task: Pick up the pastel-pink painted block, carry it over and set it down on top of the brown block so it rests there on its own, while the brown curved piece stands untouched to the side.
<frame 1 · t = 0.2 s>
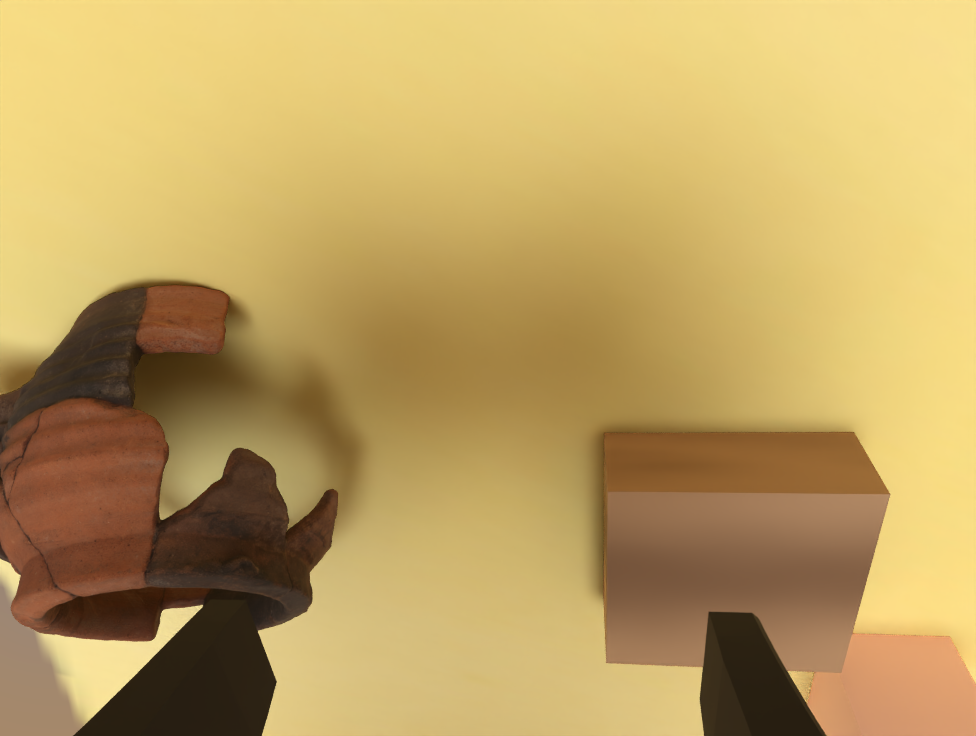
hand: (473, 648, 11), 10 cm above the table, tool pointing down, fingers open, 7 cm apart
brown block: (714, 515, 22), on the table
pink block: (874, 671, 25), on the table
brown curved piece: (182, 413, 22), on the table
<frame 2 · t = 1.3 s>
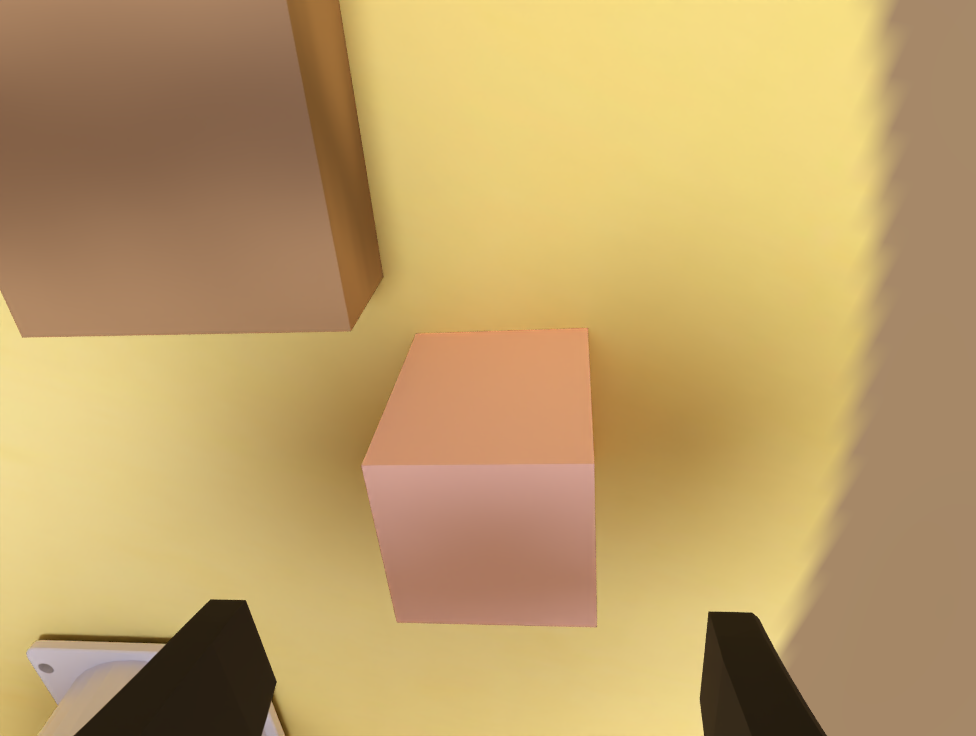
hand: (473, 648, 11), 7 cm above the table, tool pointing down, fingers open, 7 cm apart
brown block: (200, 121, 15), on the table
pink block: (507, 402, 17), on the table
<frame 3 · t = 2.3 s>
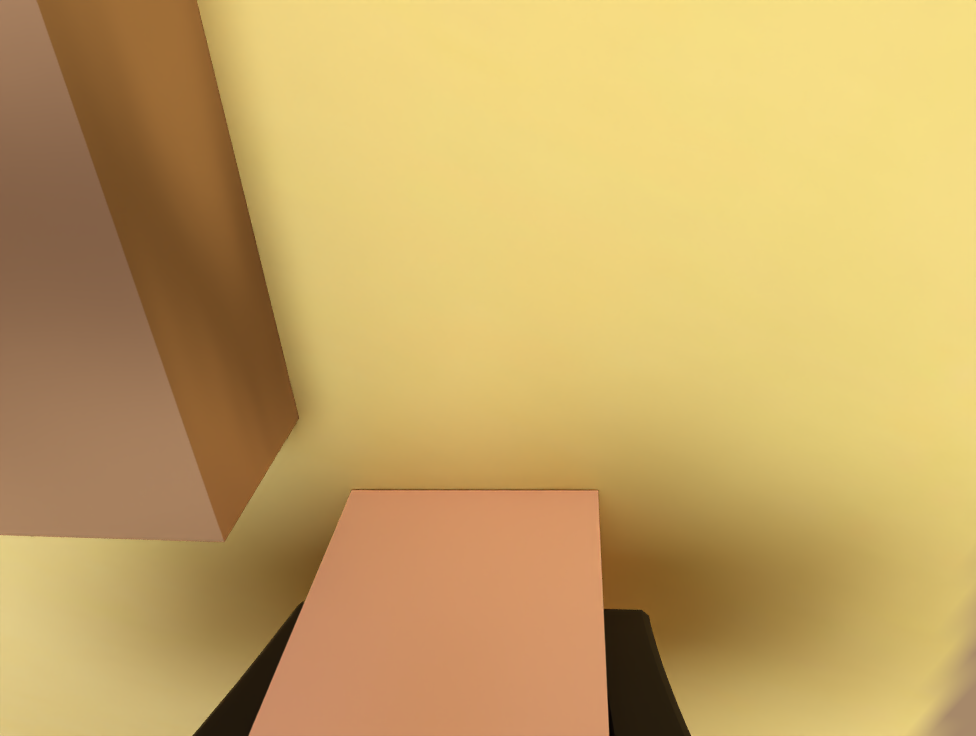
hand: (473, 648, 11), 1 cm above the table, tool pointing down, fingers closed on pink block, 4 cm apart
brown block: (18, 197, 10), on the table
pink block: (483, 579, 12), on the table, touching gripper
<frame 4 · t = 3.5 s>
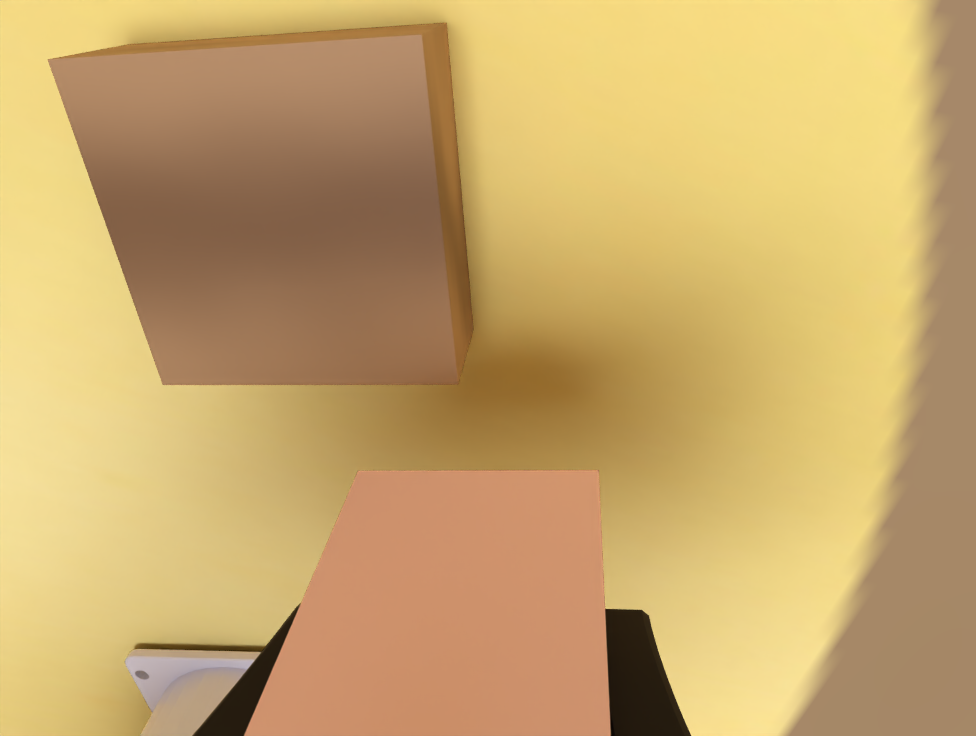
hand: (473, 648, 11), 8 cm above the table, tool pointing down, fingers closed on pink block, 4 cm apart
brown block: (319, 194, 17), on the table
pink block: (486, 559, 12), point 7 cm above the table, touching gripper
when the fingers open (6 cm above the table, at t = 4.7 s): pink block drops 2 cm, resting on brown block.
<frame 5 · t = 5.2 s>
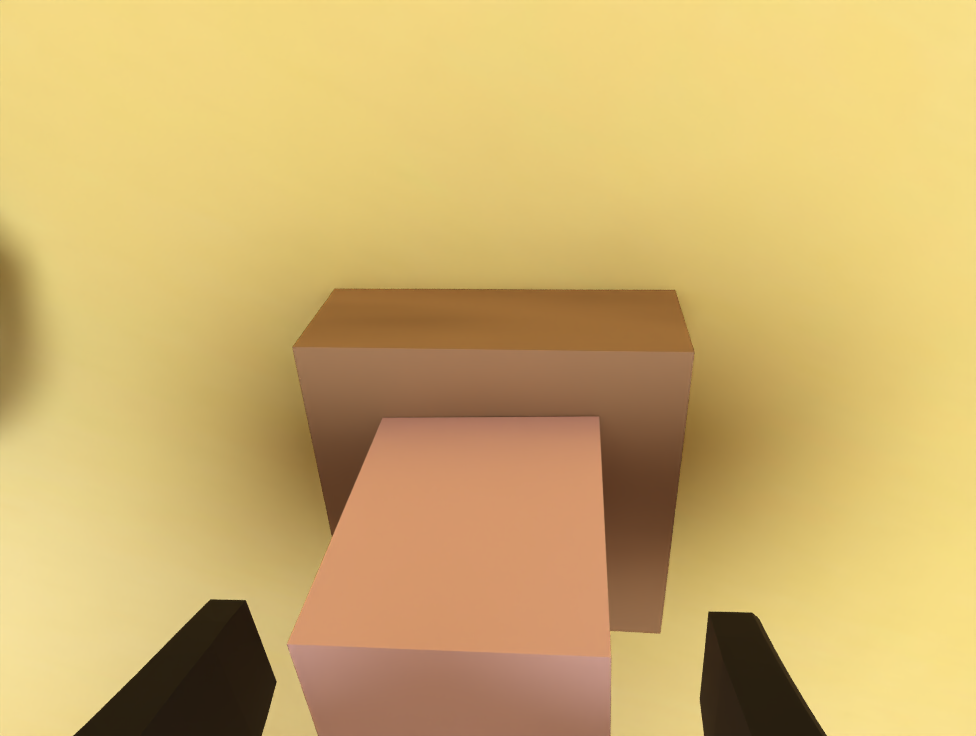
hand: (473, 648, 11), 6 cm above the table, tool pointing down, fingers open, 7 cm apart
brown block: (506, 418, 16), on the table, touching pink block
pink block: (496, 500, 14), point 3 cm above the table, touching brown block
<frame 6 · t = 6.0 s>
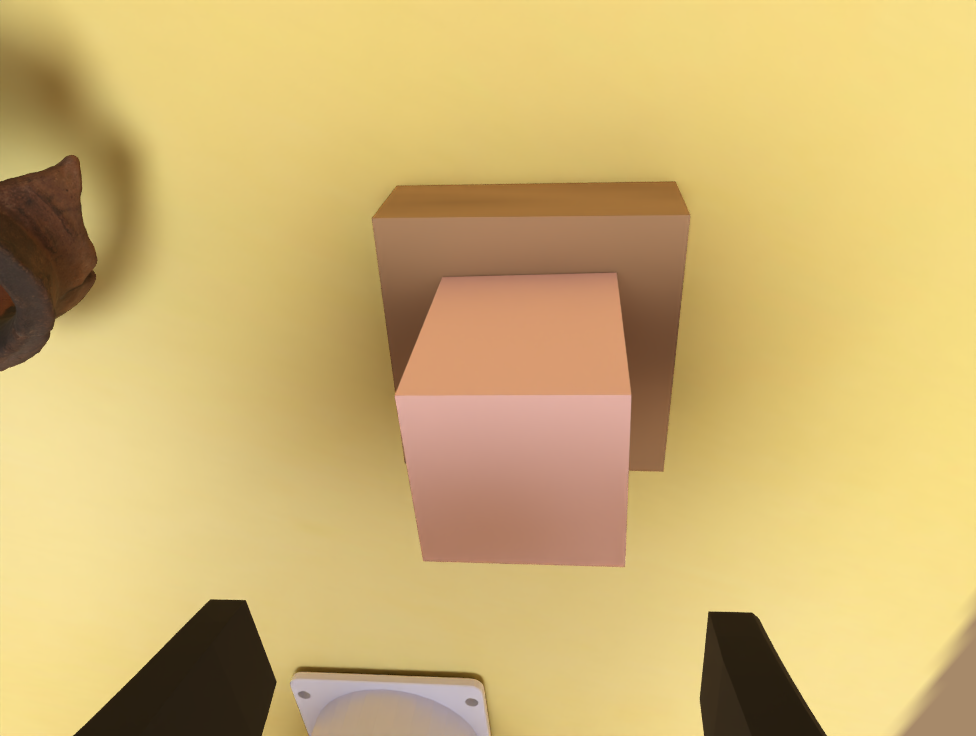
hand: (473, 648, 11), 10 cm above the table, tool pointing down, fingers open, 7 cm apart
brown block: (535, 302, 20), on the table, touching pink block
pink block: (531, 350, 17), point 3 cm above the table, touching brown block
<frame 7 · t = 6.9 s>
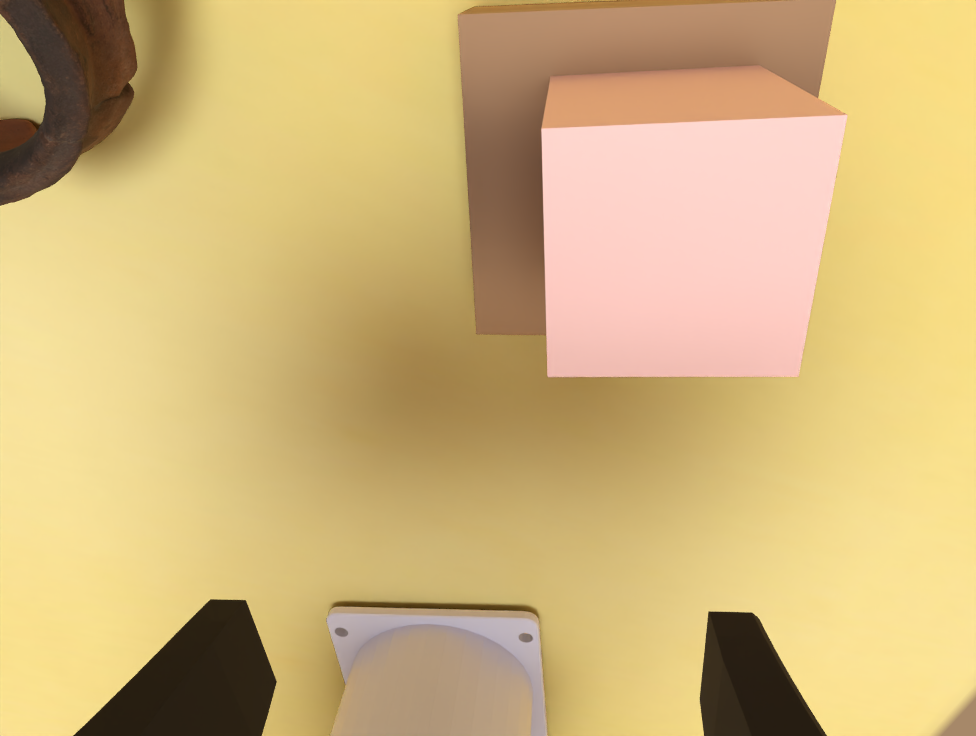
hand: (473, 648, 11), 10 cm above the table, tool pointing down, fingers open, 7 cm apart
brown block: (622, 156, 17), on the table, touching pink block
pink block: (647, 173, 15), point 3 cm above the table, touching brown block
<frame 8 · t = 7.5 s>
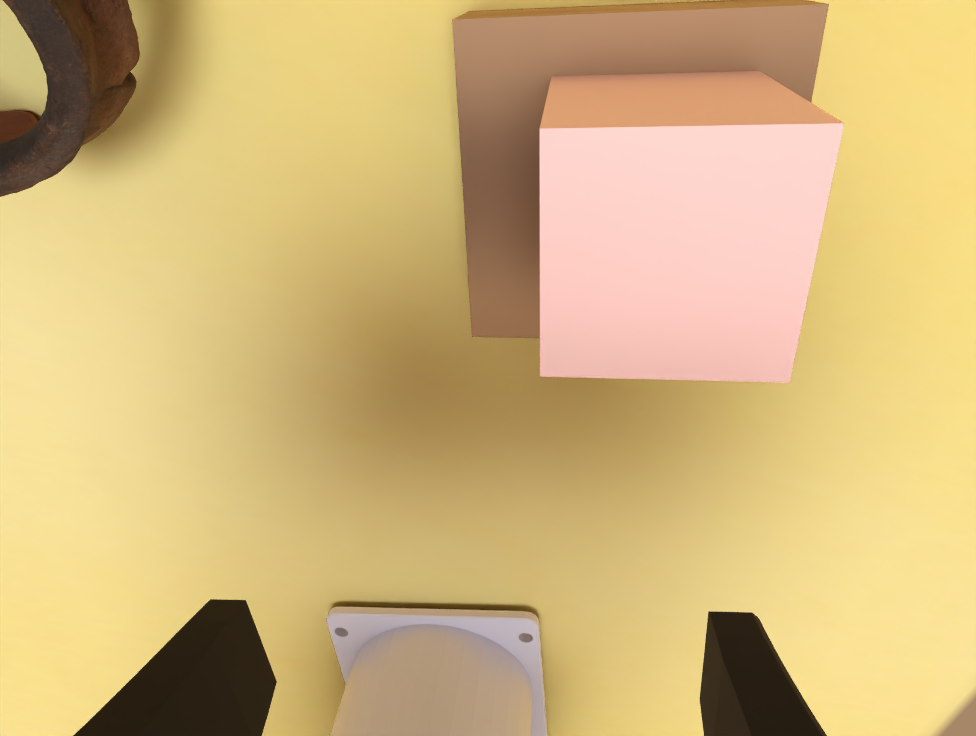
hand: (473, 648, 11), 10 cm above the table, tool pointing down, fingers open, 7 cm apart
brown block: (617, 160, 17), on the table
pink block: (646, 175, 15), point 3 cm above the table
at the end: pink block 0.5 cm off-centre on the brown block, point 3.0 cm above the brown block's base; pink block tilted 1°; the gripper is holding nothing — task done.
